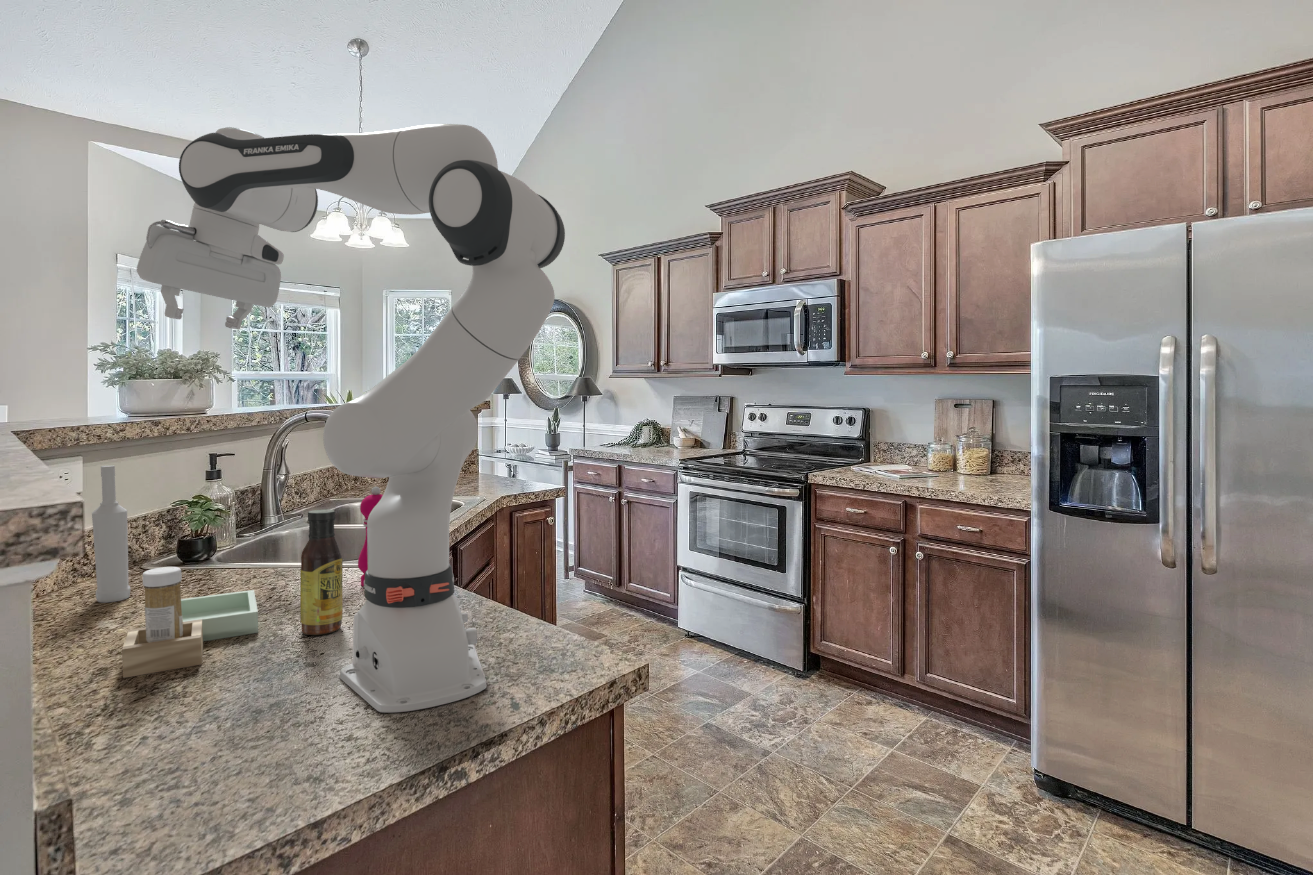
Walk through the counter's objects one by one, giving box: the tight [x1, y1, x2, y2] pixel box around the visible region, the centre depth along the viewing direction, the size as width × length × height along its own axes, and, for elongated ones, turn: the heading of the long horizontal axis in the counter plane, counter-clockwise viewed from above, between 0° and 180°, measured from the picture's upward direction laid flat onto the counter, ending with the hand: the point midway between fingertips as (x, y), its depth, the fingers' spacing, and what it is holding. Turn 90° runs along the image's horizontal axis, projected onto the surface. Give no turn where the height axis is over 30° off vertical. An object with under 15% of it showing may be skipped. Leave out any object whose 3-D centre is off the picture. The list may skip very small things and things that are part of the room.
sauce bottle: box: [299, 509, 344, 636], centre depth 112 cm, size 6×6×20 cm
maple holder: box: [121, 619, 204, 679], centre depth 100 cm, size 9×9×4 cm
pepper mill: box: [357, 486, 383, 588], centre depth 139 cm, size 7×7×20 cm
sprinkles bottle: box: [142, 566, 183, 643], centre depth 99 cm, size 5×5×14 cm
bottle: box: [91, 465, 131, 604], centre depth 127 cm, size 5×5×25 cm
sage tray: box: [181, 589, 259, 642], centre depth 113 cm, size 14×14×4 cm
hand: (203, 323), depth 107 cm, fingers open, 8 cm apart
